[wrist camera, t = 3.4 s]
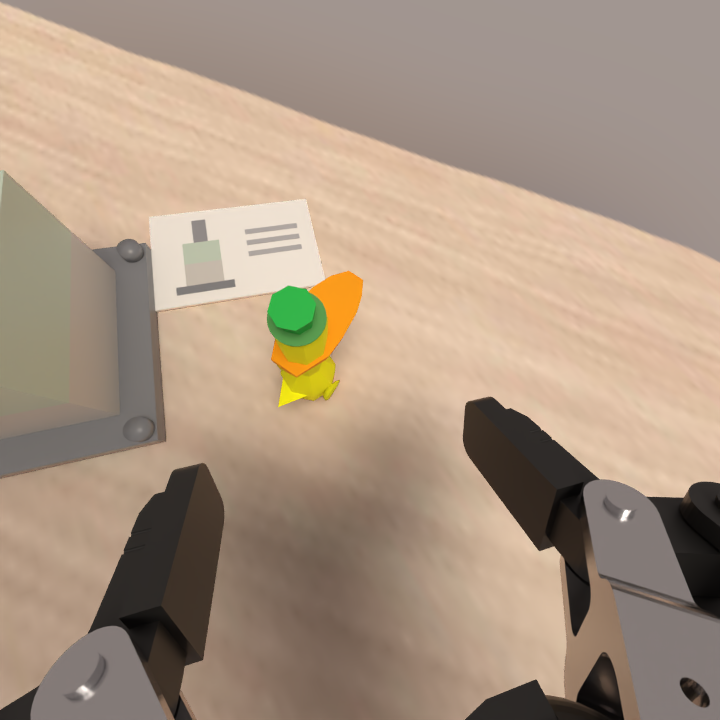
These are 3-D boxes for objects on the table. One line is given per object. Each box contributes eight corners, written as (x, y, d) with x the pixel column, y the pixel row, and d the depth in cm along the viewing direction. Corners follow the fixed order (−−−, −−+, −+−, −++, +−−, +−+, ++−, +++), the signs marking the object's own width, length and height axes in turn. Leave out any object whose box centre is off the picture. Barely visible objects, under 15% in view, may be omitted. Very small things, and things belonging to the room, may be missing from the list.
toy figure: (325, 327, 23) (325, 197, 12) (366, 354, 23) (406, 247, 12) (266, 403, 21) (197, 333, 10) (310, 434, 21) (291, 399, 10)
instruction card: (156, 312, 22) (154, 310, 22) (150, 218, 25) (148, 216, 24) (326, 284, 24) (326, 282, 24) (306, 200, 27) (305, 198, 26)
